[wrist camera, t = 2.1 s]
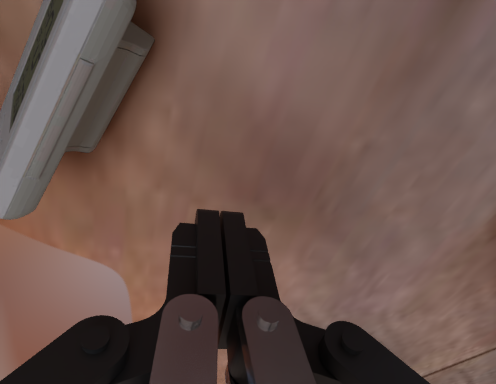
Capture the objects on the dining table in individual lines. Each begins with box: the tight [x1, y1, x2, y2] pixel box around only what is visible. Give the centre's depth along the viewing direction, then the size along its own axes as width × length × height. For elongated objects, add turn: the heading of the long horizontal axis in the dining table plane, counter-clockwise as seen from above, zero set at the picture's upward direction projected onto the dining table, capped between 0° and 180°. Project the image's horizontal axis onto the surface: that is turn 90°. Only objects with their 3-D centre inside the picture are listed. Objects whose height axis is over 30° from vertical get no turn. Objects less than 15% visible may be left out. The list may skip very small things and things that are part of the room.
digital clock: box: [0, 0, 155, 220], centre depth 21 cm, size 16×9×11 cm, turn 132°
